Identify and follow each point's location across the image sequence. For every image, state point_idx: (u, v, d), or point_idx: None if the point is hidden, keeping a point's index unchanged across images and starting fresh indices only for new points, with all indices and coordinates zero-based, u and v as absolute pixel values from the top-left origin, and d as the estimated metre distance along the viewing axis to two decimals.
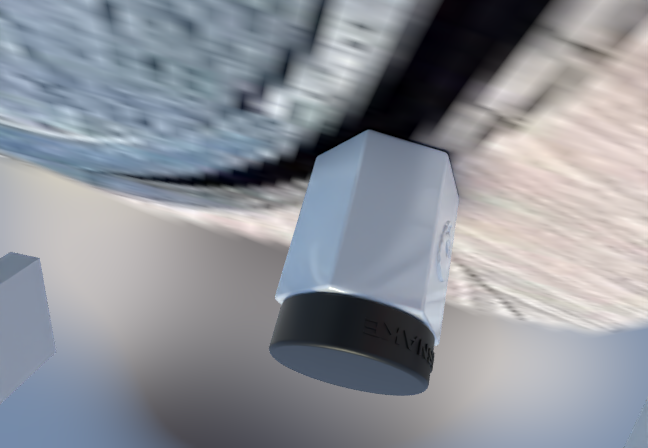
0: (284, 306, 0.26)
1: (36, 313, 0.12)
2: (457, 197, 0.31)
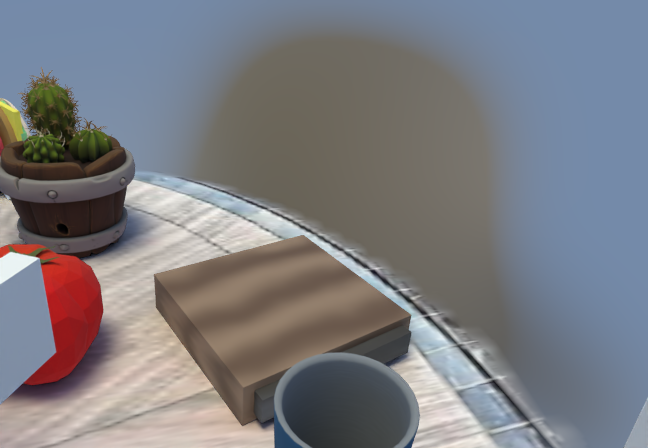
0: None
1: (36, 313, 0.12)
2: None
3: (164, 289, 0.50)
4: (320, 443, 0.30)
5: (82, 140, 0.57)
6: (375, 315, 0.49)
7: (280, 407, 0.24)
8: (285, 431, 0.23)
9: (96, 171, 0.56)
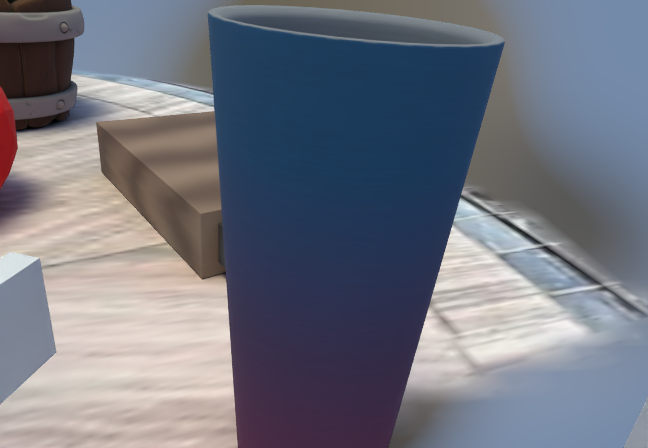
0: None
1: (36, 313, 0.12)
2: None
3: (107, 135, 0.38)
4: None
5: None
6: None
7: (221, 16, 0.12)
8: (225, 20, 0.10)
9: (28, 6, 0.44)
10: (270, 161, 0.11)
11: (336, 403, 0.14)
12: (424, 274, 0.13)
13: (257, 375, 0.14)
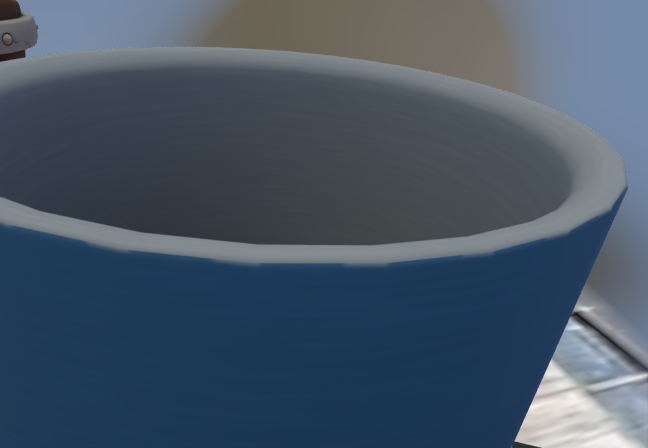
0: None
1: None
2: None
3: None
4: None
5: None
6: None
7: None
8: None
9: None
10: None
11: None
12: None
13: None
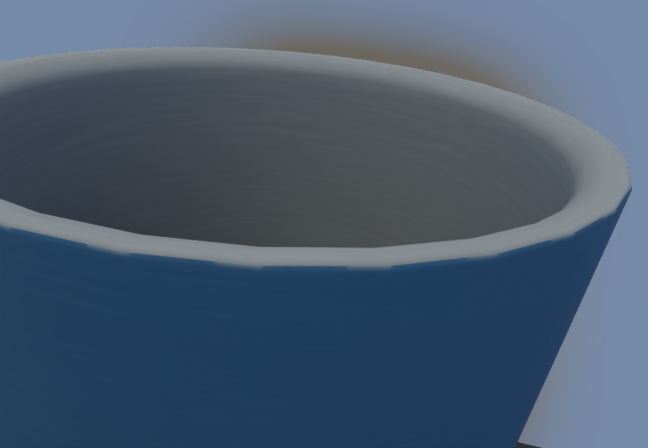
0: None
1: None
2: None
3: None
4: None
5: None
6: None
7: None
8: None
9: None
10: None
11: None
12: None
13: None
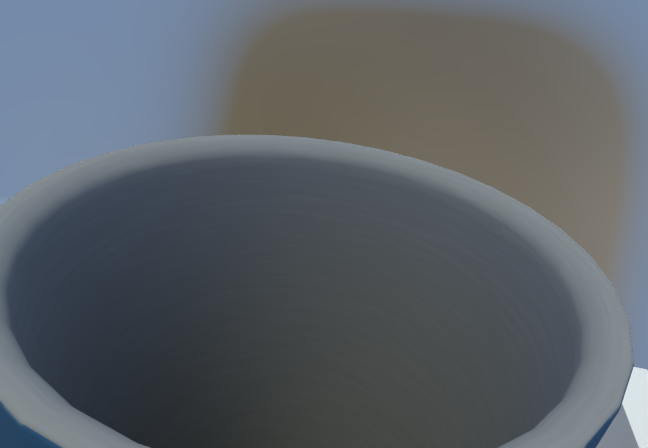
0: None
1: None
2: None
3: None
4: (248, 419, 0.11)
5: None
6: None
7: (8, 237, 0.05)
8: None
9: None
10: None
11: None
12: None
13: None
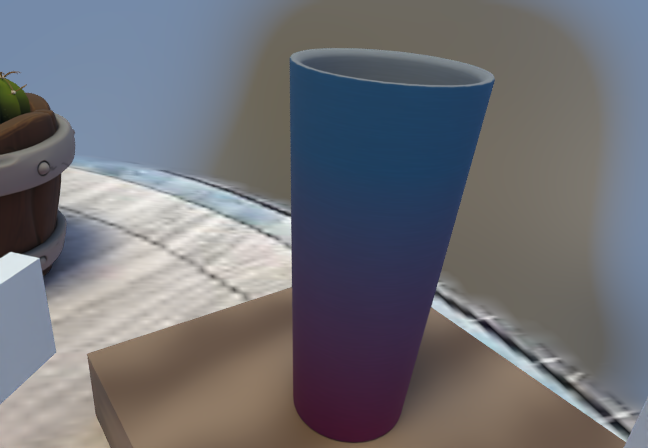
0: None
1: (36, 313, 0.12)
2: None
3: (104, 391, 0.24)
4: None
5: None
6: None
7: (299, 62, 0.17)
8: (308, 68, 0.16)
9: None
10: (337, 161, 0.16)
11: (375, 337, 0.19)
12: (439, 241, 0.18)
13: (317, 318, 0.20)
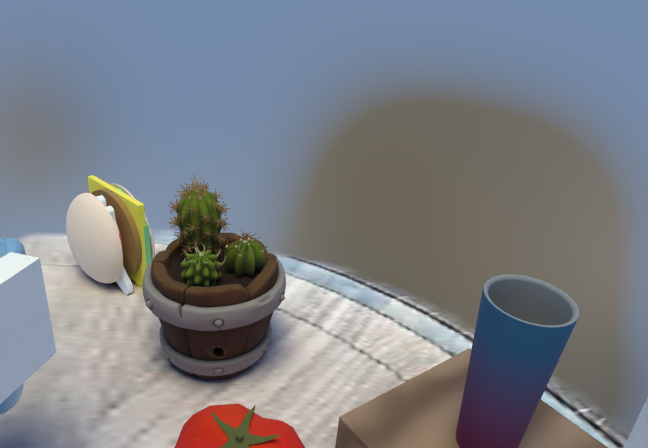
0: None
1: (36, 313, 0.12)
2: None
3: (358, 439, 0.45)
4: None
5: (241, 255, 0.52)
6: None
7: (492, 301, 0.38)
8: (502, 312, 0.37)
9: (260, 291, 0.51)
10: (511, 349, 0.38)
11: (516, 419, 0.40)
12: (549, 377, 0.40)
13: (487, 409, 0.41)
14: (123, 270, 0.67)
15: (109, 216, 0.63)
